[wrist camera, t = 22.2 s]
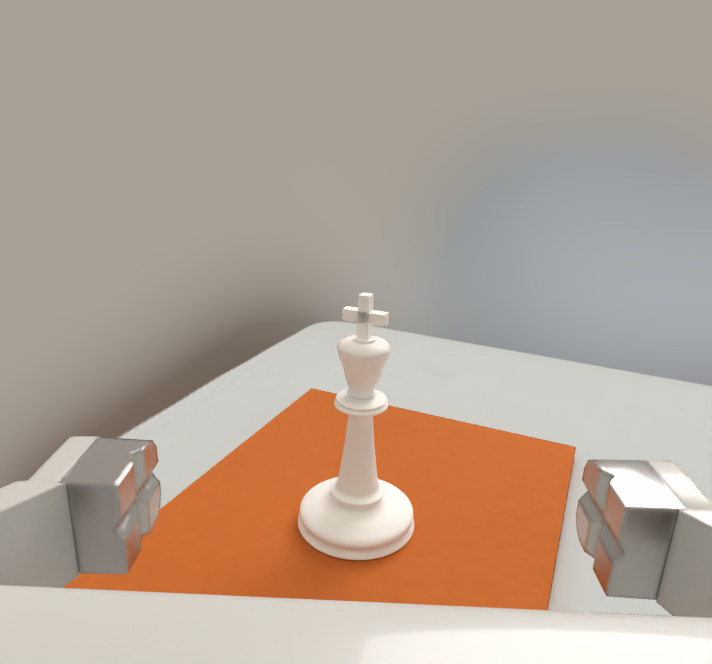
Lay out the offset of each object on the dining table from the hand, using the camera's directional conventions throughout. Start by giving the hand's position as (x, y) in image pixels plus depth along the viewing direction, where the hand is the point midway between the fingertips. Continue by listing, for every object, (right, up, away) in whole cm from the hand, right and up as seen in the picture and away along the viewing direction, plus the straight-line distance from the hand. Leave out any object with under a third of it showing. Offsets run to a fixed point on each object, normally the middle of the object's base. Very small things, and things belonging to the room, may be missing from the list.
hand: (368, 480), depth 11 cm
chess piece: (0, -5, +14) cm, 15 cm away
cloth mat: (0, -6, +14) cm, 16 cm away
